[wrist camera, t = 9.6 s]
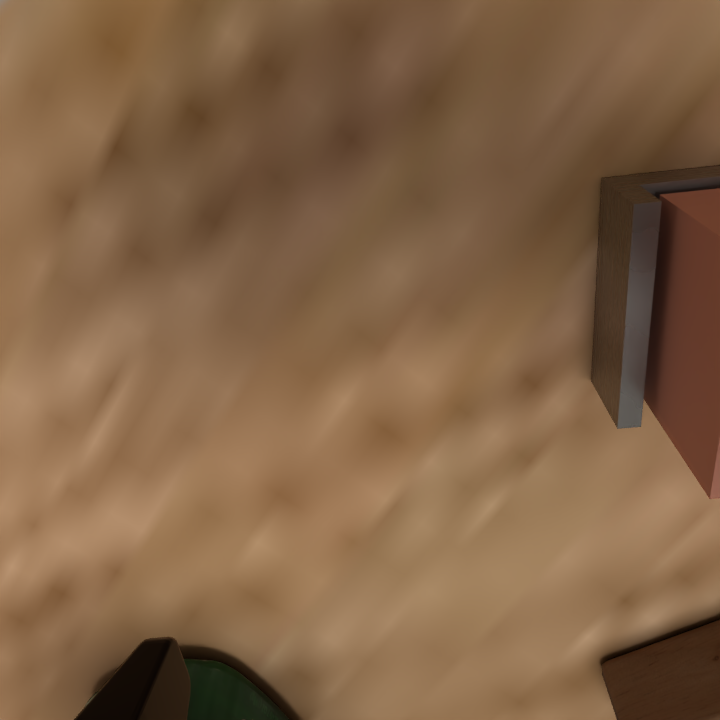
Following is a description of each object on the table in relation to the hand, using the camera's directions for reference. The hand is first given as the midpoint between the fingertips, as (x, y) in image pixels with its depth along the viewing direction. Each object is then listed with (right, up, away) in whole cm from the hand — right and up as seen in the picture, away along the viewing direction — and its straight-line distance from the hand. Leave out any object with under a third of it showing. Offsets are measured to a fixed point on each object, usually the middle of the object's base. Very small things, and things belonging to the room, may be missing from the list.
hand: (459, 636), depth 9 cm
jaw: (+7, +5, +8) cm, 12 cm away
